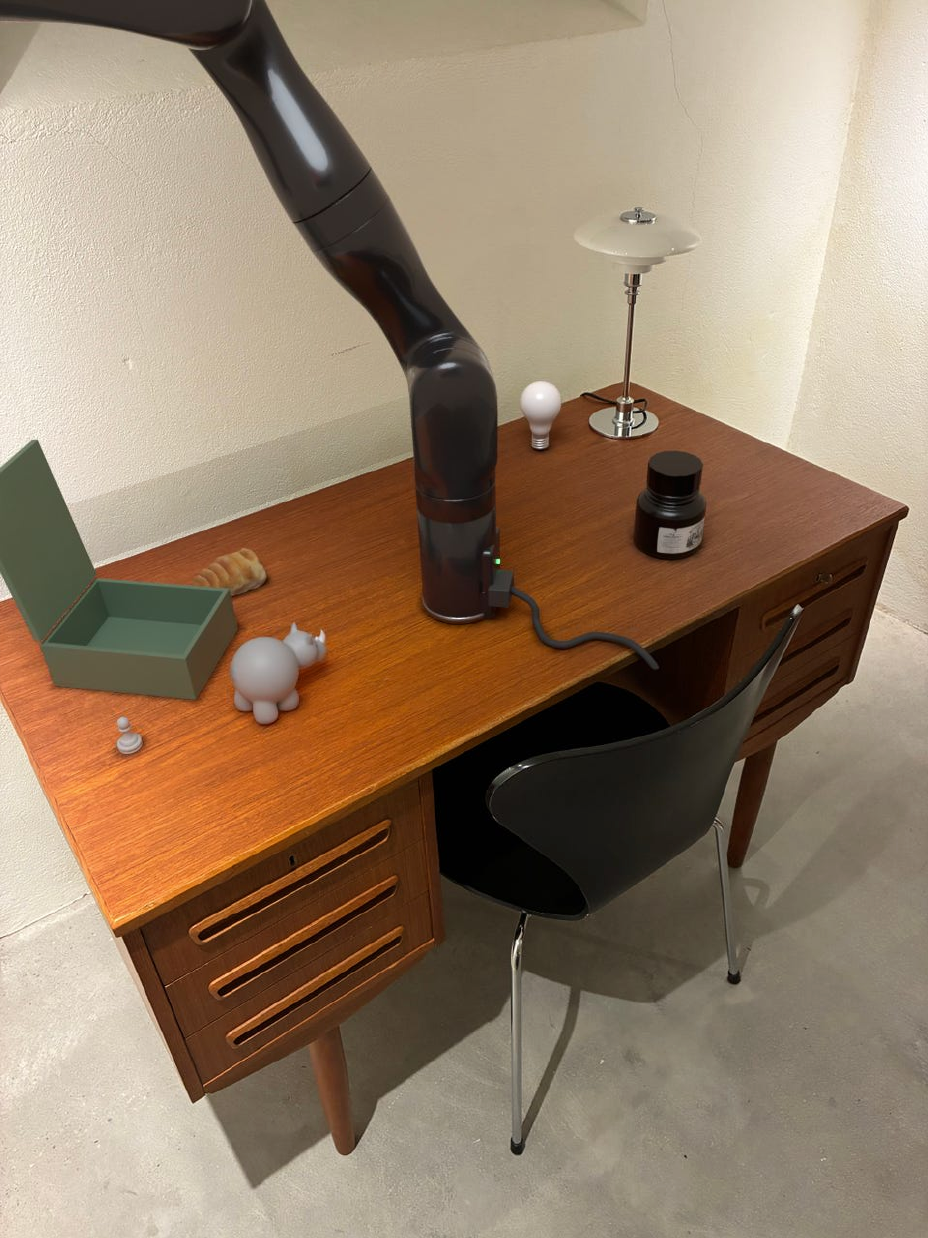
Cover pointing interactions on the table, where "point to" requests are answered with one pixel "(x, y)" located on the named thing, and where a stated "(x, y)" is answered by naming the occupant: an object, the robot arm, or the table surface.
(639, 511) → the ink bottle
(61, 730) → the table surface
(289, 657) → the toy rhinoceros
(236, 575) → the pastry
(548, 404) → the lightbulb
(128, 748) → the pawn
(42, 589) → the box lid
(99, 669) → the chess box
